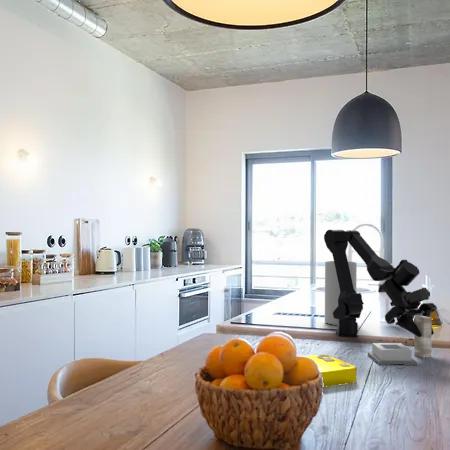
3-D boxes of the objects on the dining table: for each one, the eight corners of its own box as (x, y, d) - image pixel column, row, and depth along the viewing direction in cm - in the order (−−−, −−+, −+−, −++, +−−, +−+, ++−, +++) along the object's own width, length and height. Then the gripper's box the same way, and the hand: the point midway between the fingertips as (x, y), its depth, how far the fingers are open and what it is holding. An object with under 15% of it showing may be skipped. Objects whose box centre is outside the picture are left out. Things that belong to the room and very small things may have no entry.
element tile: (280, 374, 138) (280, 356, 138) (326, 368, 144) (326, 351, 144) (309, 391, 125) (309, 371, 125) (359, 384, 130) (359, 365, 130)
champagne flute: (399, 322, 211) (399, 264, 211) (386, 323, 209) (386, 264, 209) (388, 319, 217) (388, 263, 217) (375, 320, 215) (376, 263, 215)
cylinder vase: (353, 320, 213) (354, 261, 213) (358, 326, 201) (358, 263, 201) (323, 320, 215) (323, 260, 214) (326, 325, 202) (326, 263, 202)
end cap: (378, 364, 147) (378, 351, 147) (367, 355, 158) (367, 342, 158) (416, 365, 147) (416, 351, 147) (402, 355, 158) (402, 342, 158)
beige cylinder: (414, 355, 158) (414, 316, 158) (421, 353, 160) (422, 315, 160) (423, 357, 155) (424, 318, 155) (431, 356, 157) (431, 317, 157)
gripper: (392, 280, 156) (422, 323, 146) (432, 277, 165) (462, 317, 156) (372, 302, 163) (400, 344, 153) (411, 298, 172) (439, 337, 163)
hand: (426, 335), depth 156 cm, fingers open, 5 cm apart
